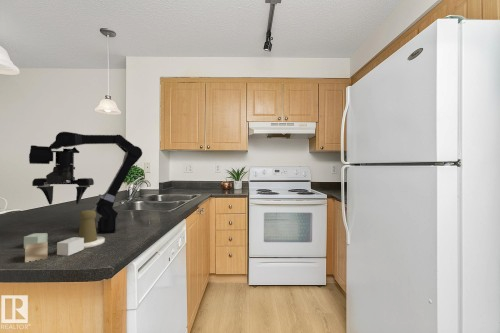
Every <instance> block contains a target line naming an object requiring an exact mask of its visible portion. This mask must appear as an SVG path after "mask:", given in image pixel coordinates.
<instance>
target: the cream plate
mask: <svg viewBox="0 0 500 333" xmlns="http://www.w3.org/2000/svg"><path fill="white" fill-rule="evenodd" d="M105 240H106V238H105V237H104V236H98V235H97V240H96V241H93V242H89V243H84V249H89V248H93V247H97V246H100V245H103V244H104V243H105V242H106V241H105Z"/></svg>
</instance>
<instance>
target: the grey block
mask: <svg viewBox="0 0 500 333" xmlns="http://www.w3.org/2000/svg"><path fill="white" fill-rule="evenodd" d="M83 250H85V248H84V238H78V236H77V237H75V236H74V237H73V236H72V237H70V238H67V239H64V240H61V241H59V242H57V243H56V255H57V256H71V255H73V254H75V253H78V252H80V251H83Z"/></svg>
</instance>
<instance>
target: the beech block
mask: <svg viewBox="0 0 500 333" xmlns="http://www.w3.org/2000/svg"><path fill="white" fill-rule="evenodd" d="M48 247H49V246H48V241H47V242H42V243H35V244H28V245H26V248H24V249H25V250H24V255H25V256H24V263H30V262H29V261H31V262H36V261H35V260H37V261H40V259H42V260H48V252H49V251H48Z"/></svg>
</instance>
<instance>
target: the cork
mask: <svg viewBox="0 0 500 333" xmlns="http://www.w3.org/2000/svg"><path fill="white" fill-rule="evenodd" d="M78 216H79V217H78V218H79V220H80V224H79V230H78V234H77V235H78V236H77V237H78V238H84V243H89V242H93V241H96V240H97V236H98V233H97V229H96V228H97V227H96V222H95V219H96V217H97V211H96V210H95V209H85V210H82V211H80V212H79V214H78Z"/></svg>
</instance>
